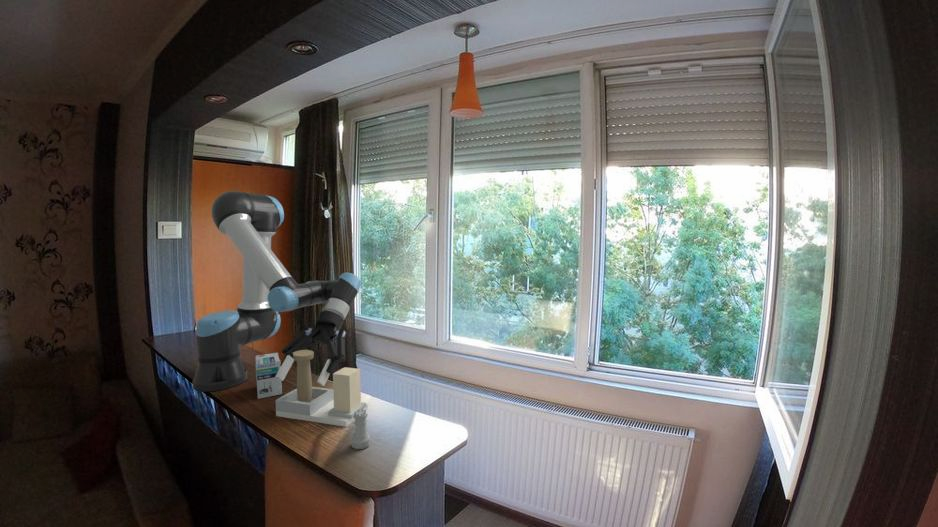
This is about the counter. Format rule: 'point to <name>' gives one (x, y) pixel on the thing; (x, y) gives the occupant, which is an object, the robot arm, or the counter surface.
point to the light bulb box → (268, 375)
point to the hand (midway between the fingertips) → (299, 381)
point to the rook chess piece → (360, 431)
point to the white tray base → (327, 401)
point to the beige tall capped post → (304, 374)
